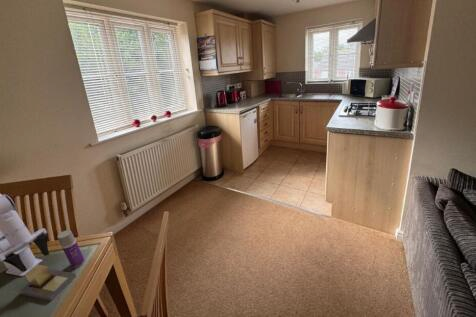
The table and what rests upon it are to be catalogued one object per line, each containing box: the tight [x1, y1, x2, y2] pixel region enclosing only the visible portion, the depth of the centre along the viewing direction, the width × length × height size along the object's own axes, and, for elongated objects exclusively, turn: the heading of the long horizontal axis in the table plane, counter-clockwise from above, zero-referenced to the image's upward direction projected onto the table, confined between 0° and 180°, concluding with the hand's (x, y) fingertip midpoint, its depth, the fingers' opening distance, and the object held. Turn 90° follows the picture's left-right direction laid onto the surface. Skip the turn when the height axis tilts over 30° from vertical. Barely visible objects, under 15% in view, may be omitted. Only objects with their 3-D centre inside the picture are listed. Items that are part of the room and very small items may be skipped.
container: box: [56, 229, 86, 269], centre depth 92 cm, size 5×5×15 cm
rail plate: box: [18, 268, 77, 302], centre depth 86 cm, size 14×10×2 cm
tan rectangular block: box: [24, 264, 53, 289], centre depth 86 cm, size 4×4×7 cm
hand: (36, 262), depth 83 cm, fingers open, 7 cm apart
